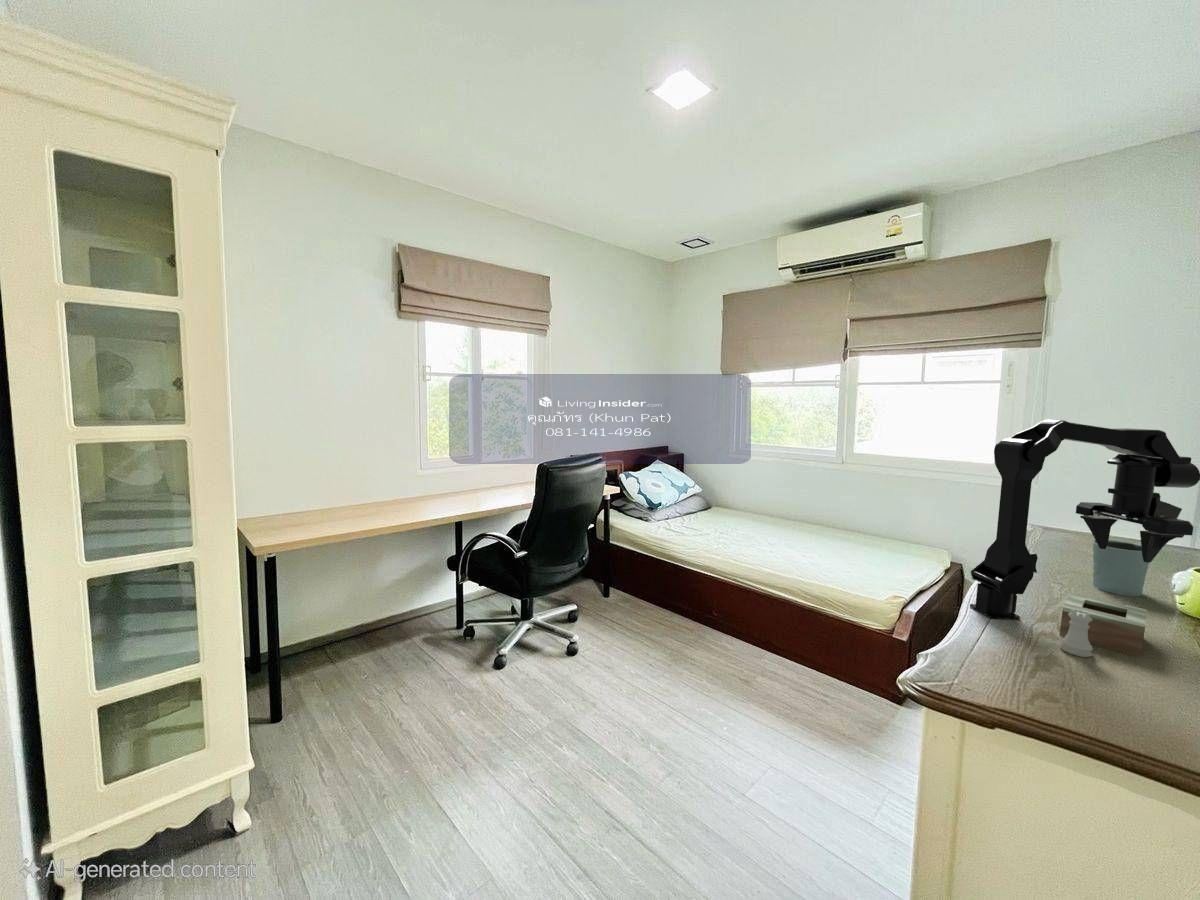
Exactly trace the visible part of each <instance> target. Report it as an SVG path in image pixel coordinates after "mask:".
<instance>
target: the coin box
mask: <svg viewBox="0 0 1200 900" xmlns="http://www.w3.org/2000/svg"><path fill="white" fill-rule="evenodd" d="M1073 609H1076V610H1077V611H1076V612H1079V610H1082V613H1084V614H1085V612H1088V613H1089V614H1090V617H1091V618H1092V621H1091V622H1089V623H1088V625H1089V626H1090V628H1088V640H1089V642H1090V645H1095V646H1098V647H1102V648H1107V649H1108V650H1113V651H1116V652H1119V653H1124V654H1127V655H1130V656H1133V657H1138V658H1142V651H1143V646H1144V637H1145V632H1146V621H1147V609H1144V608H1140V607H1136V606H1132V605H1126V604H1123V603H1120V602H1119V603H1118V602H1115V601H1111V600H1110V601H1109V600H1106V599H1101V598H1096V597H1093V596H1089V595H1088V596H1087V595H1085V594H1079V593H1075V592H1069V594H1068V596H1067V598H1066V600H1065V602H1064V603H1063V606H1062V609H1061V610H1062V611H1061V620H1060V627H1059V636H1062V635H1063V637H1065V636H1066V635H1067V633H1068V631H1069V628H1070V623H1069V621H1071V618H1070V617H1069V615H1068V614H1069V613H1070V612H1071V610H1073Z"/></svg>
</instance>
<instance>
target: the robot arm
mask: <svg viewBox="0 0 1200 900" xmlns="http://www.w3.org/2000/svg"><path fill="white" fill-rule="evenodd" d="M1062 441H1072V442H1079V443H1083V444H1091V445H1099V446H1102V447H1105V449H1107V450H1110V451H1112V452H1116V453H1118V454H1116V456H1115V457H1112V458H1110V459H1108V460H1107V462H1106V463H1107V464H1109V465H1116V471H1115V472H1116V473H1115V480H1114V487H1113V488H1112V487H1110V488H1107V493H1108V494H1112V500H1111V501H1112V502H1111V504H1108V503H1104V502H1090V501H1089V502H1088V501H1086V502H1085V501H1081V502H1079V503H1077V505H1076V506H1075V507H1076V508H1075V514H1078V515H1080V516H1079V518H1080V519H1083V521H1084V523H1085V524H1086V525H1087V527H1088V528H1089V530H1090V532H1091V534H1092V536H1093V539H1094V540H1096V542H1097V544H1098V546H1099V548H1100V549H1106V547H1107V544H1108V540H1110V533H1111V528H1112V526H1113V525H1115V524H1116V522H1118V520H1121V521H1126V522H1130V523H1134V524H1139V525H1141V526H1142V528H1143V529H1144V530H1139V534H1140V536H1139V537H1140V545H1141V548H1142V557H1143V561H1144V562H1146V563H1149V564H1150V563H1152V562H1153V561H1154V559H1155V558H1156V556H1158V554H1159V553H1160V551H1161V550H1162V549H1163V547H1164V546H1166V545H1167V544H1168V543H1169V542H1170V541H1172V540H1174V539H1177V538H1178V539H1179V538H1180V539H1182V538H1184V537H1185V536H1193V534H1194V532H1193V531H1194V525H1193V524H1192V522H1190V521H1189V520H1184V519H1179V516H1180V514H1181V513H1182V510H1183V508H1181V507H1179V506H1176V505H1175V504H1171V503H1168V502H1166V501H1162V500H1161V494H1160V492H1154V491H1155V488H1179V489H1180V488H1181V489H1182V488H1185V489H1187V488H1191V487H1195V486H1196V485H1197V484H1199V482H1200V470H1199V468H1198V467H1197V465H1195V464H1193V463H1192V457H1191V456H1181V455H1179V454H1178V453H1177V451H1176V449H1175V447H1174V446H1173V444H1172V442H1171V441H1170V439H1169V438H1168V436H1167V433H1166V432H1165V431H1163V430H1160V429H1149V428H1148V429H1146V428H1145V429H1144V428H1127V427H1126V428H1110V427H1109V428H1108V427H1103V426H1095V425H1088V424H1083V423H1075V422H1070V421H1066V420H1062V419H1060V420H1059V419H1057V420H1056V419H1044V420H1042V421H1039V422H1038V423H1036V424H1034V425H1033V426H1032V427H1029V428H1026V429H1024V430H1021V431H1019V432H1017V433H1014V434H1013V435H1010V437H1008V438H1007V437H1006V438H1004V439H1001V440H1000V441H999V442H998V443H996V444H995V446H994V451H993V454H994V455H993V456H994V465H995V467H996V468H997V471H998V473H999V475H1000V476H1001V485H1000V486H1001V487H1000V495H999V508H998V515H997V528H996V536H995V537H996V538H995V540H994V541H993V543H992V544H991V545H990V546H989V547H988V548H987V550H986V553H985V556H984V559H983V560H982V561H981V562H980V563H979V564H977V565H976V566H975V567H973V568H972V569H971V570H970V575H971V578H972V580H974V581H976V582H979V583H977V588H976V595H975V596H976V597H975V603H970V604H969V607H970V608H972V609H974V610H976V611H977V612H980V613H981V614H983V615H985V616H986V617H988V618H991V619H1002V620H1003V619H1004V620H1005V619H1007V620H1008V619H1010V620H1011V619H1012V620H1020V619H1021V616H1020V615H1019V614H1016V610H1017V603H1018V602H1017V600H1018V595H1024V594H1025V591H1026V589H1027V587H1028V585H1029V583H1030V582H1031V581H1032V580H1033V578H1034V575H1035V573H1036V574H1037V573H1038V571H1037V562H1038V559H1039V558H1038V554H1037V553H1035V552H1032V551H1029V549H1028V547H1027V545H1026V542H1027V541H1026V540H1027V531H1028V523H1029V522H1028V521H1029V512H1030V511H1029V510H1030V503H1031V502H1030V501H1031V492H1032V482H1033V480H1034V479H1035V478H1036V477H1037V475H1038V474H1040V472H1041V471H1042V470H1043V467H1044V463H1045V460H1046V457H1049V456H1050V455H1052V454H1054V453H1055V452H1056V451H1057V450H1058V448H1059V447H1060V445H1061V443H1062ZM999 579H1000V580H999Z"/></svg>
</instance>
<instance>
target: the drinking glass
mask: <svg viewBox="0 0 1200 900" xmlns="http://www.w3.org/2000/svg"><path fill="white" fill-rule="evenodd" d="M1092 552H1093V554H1092V560H1093V564H1092V566H1093V567H1092V568H1093V572H1092V578H1093V579H1092V586H1093V585H1094V586H1095V588H1096V587H1097V588H1096V589H1098V588H1099V589H1098V590H1100V589H1101V591H1103V590H1104V591H1103V592H1106V591H1107V592H1106V593H1110V592H1111V594H1114V593H1115V595H1118V594H1119V595H1120V596H1125V597H1126V596H1127V597H1140V596H1142V595H1143V590H1144V584H1145V581H1146V578H1147V577H1146V576H1147V573H1148V569H1149V565H1150V563H1146V562H1144V561H1143V557H1142V548H1141V544H1139V543H1133V542H1127V541H1123V540H1113V539H1109V540H1108V544H1107V547H1106V549H1100V548H1099V546H1098V544H1097V542H1096V540H1095V539H1094V540H1093V541H1092ZM1094 586H1093V587H1094Z"/></svg>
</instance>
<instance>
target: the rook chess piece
mask: <svg viewBox="0 0 1200 900" xmlns="http://www.w3.org/2000/svg"><path fill="white" fill-rule="evenodd" d="M1076 611H1077V610H1076V609H1073V610H1071V612H1070V613H1069V614H1068V615H1069V617H1070V618H1071V621H1069V623H1070V628H1069V631H1068V633H1067V635H1066V636H1064V638H1061V640H1060V642H1061V644H1059V646H1060V648H1061V649H1062V650H1063V651H1064V650H1065V651H1066V653H1067V652H1068V654H1069V655H1072V654H1073V655H1072V656H1075V655H1076V657H1079V656H1080V657H1081V658H1090V657H1092V656H1094V655H1093V654H1094V653H1093V652H1092V651H1094V650H1093V649H1094V648H1093V646H1092V644H1091V643H1090V642H1089V640H1088V628H1090V626H1089V625H1088V623H1089V622H1091V621H1092V618H1091V617H1090V614H1089V613H1088V612H1085V614H1084V613H1082V610H1079V612H1076ZM1065 651H1064V652H1065Z"/></svg>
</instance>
